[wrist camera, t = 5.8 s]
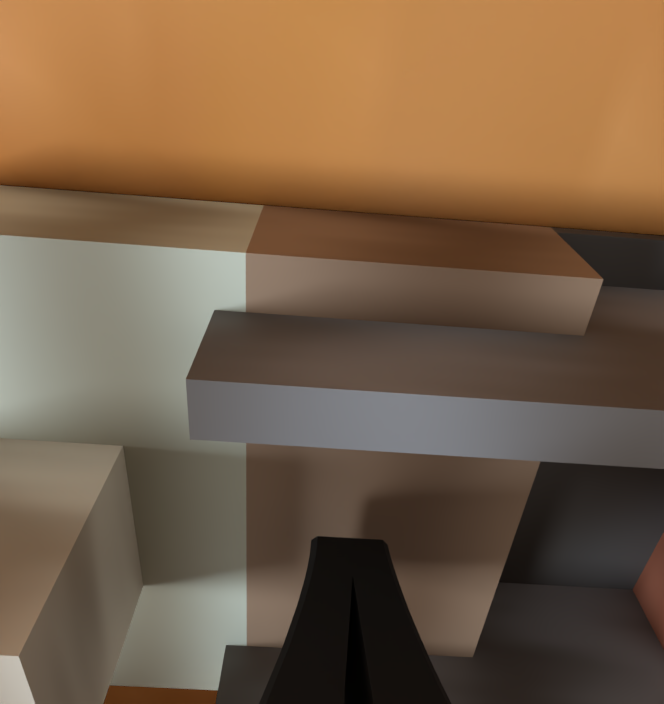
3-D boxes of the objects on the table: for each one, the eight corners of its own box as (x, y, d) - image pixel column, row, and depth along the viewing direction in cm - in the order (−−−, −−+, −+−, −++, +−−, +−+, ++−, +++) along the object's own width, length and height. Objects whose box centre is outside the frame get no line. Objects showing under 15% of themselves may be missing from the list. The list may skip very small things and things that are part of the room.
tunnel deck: (53, 594, 17) (-33, 770, 13) (-61, 180, 10) (-292, 276, 7) (653, 626, 17) (746, 803, 13) (877, 251, 11) (1169, 378, 7)
